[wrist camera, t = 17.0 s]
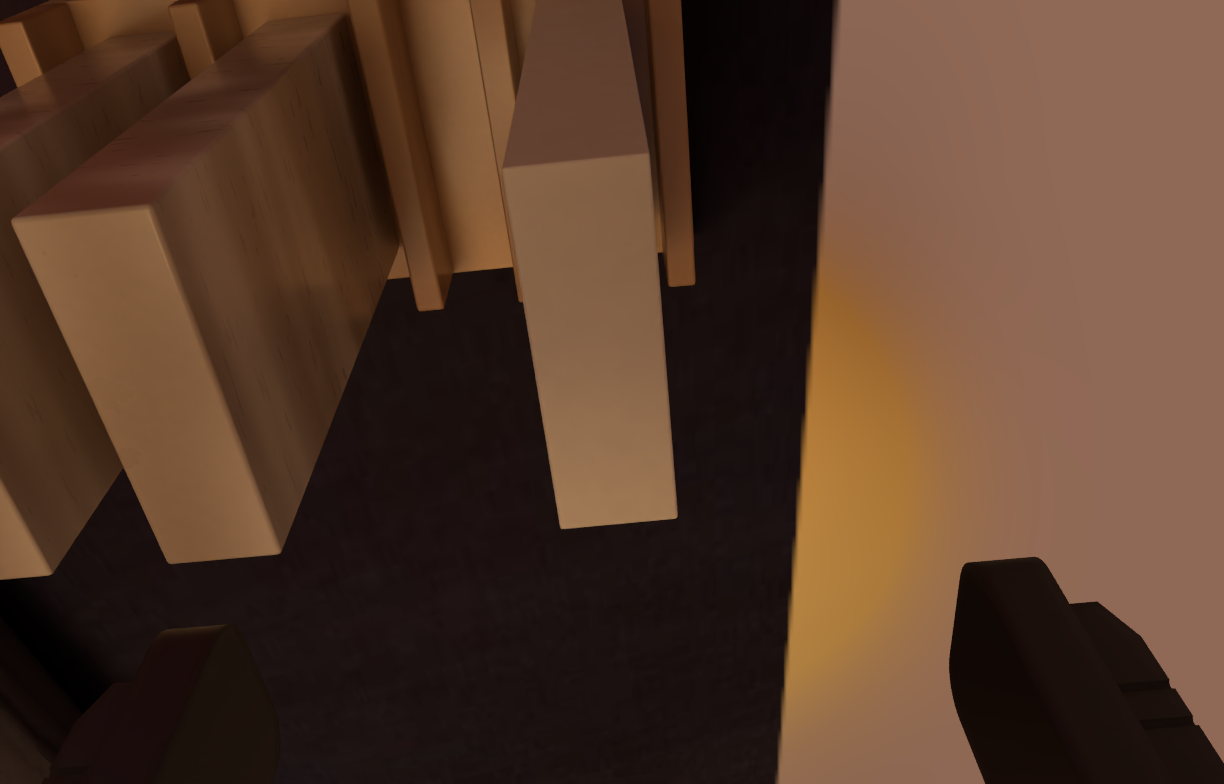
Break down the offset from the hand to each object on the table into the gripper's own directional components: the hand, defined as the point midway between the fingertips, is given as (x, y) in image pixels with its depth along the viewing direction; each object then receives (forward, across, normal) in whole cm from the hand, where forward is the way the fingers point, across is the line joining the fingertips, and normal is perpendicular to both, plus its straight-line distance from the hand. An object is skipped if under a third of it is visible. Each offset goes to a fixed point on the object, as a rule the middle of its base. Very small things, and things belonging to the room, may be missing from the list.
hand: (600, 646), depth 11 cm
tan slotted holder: (+21, +5, 0) cm, 22 cm away
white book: (+20, 0, 0) cm, 20 cm away
